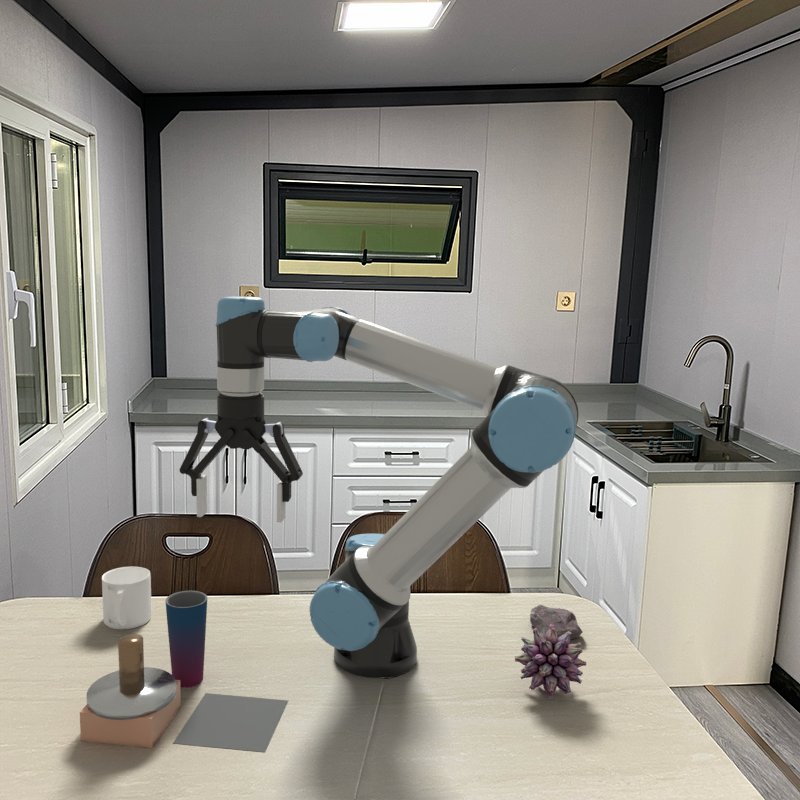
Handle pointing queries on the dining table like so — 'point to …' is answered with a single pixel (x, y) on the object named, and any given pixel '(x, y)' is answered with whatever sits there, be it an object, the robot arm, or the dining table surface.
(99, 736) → the dish
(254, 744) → the mat
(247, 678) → the dining table surface
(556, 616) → the rock
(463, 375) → the robot arm
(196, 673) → the cup
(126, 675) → the lid
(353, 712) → the dining table surface
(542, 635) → the flower
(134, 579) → the mug
